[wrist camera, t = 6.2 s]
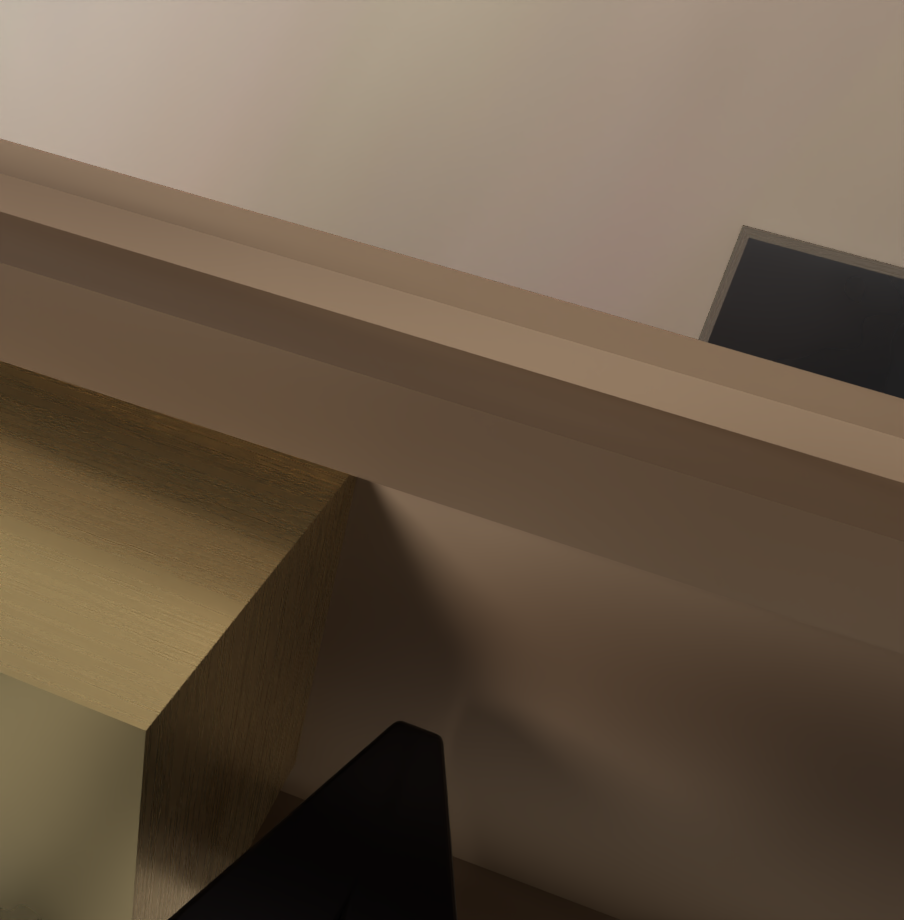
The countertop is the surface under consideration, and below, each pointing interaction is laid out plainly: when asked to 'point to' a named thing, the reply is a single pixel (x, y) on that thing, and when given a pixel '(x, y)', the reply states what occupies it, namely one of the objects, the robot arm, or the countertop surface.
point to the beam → (531, 547)
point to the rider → (147, 646)
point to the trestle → (812, 310)
